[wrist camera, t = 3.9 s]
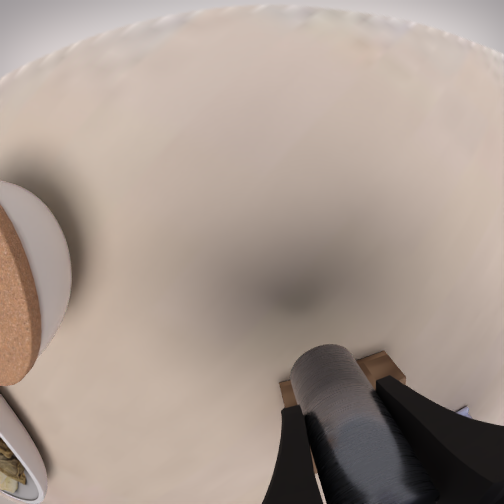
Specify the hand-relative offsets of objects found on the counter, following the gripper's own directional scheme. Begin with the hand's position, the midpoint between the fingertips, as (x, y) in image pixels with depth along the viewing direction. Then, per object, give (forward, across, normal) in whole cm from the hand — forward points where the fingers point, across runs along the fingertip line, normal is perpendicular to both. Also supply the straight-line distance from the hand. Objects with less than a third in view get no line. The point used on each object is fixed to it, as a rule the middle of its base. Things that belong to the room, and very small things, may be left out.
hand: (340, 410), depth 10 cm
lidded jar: (+9, +16, -8) cm, 20 cm away
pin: (+3, 0, 0) cm, 3 cm away
